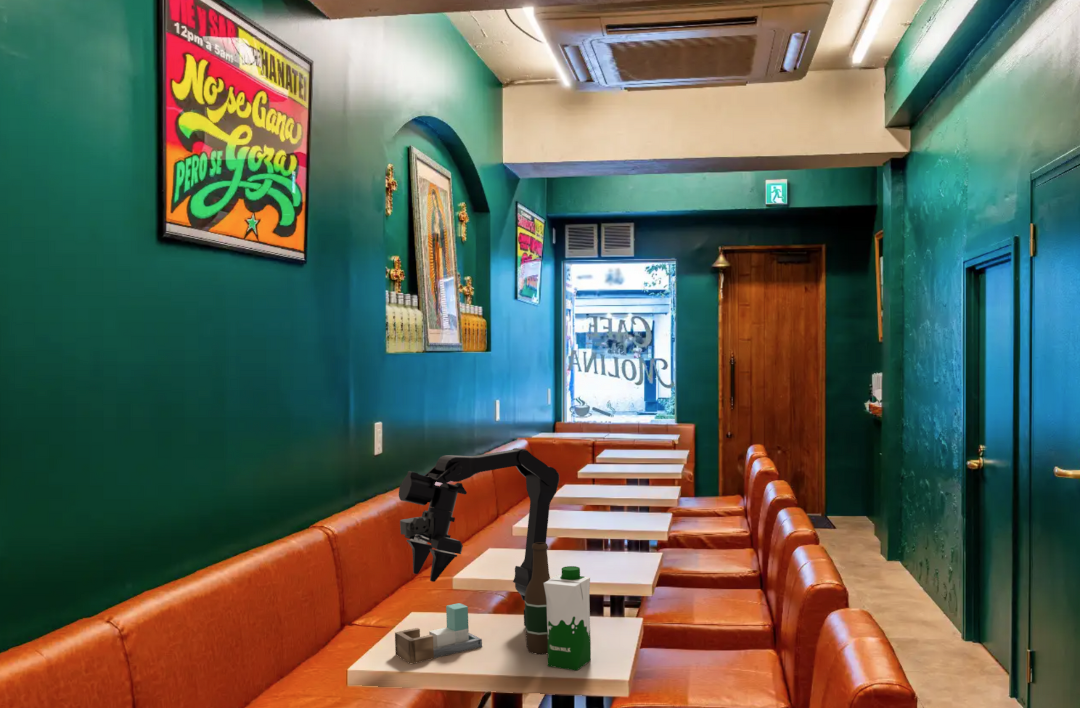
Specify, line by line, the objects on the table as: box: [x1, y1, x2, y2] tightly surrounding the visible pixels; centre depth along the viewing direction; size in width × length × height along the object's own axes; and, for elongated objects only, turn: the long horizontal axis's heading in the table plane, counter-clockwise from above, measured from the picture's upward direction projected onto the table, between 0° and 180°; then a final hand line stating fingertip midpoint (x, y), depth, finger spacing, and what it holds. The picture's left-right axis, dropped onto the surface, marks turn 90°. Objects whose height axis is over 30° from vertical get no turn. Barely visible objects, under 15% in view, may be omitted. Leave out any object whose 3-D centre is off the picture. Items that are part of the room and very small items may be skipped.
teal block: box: [428, 602, 470, 648], centre depth 201 cm, size 8×4×9 cm, turn 124°
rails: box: [433, 632, 483, 659], centre depth 201 cm, size 12×7×2 cm, turn 124°
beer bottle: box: [524, 542, 551, 655], centre depth 199 cm, size 8×8×24 cm
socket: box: [394, 627, 435, 664], centre depth 196 cm, size 6×8×5 cm
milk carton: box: [544, 565, 592, 671], centre depth 189 cm, size 9×9×20 cm
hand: (423, 577), depth 199 cm, fingers open, 9 cm apart
